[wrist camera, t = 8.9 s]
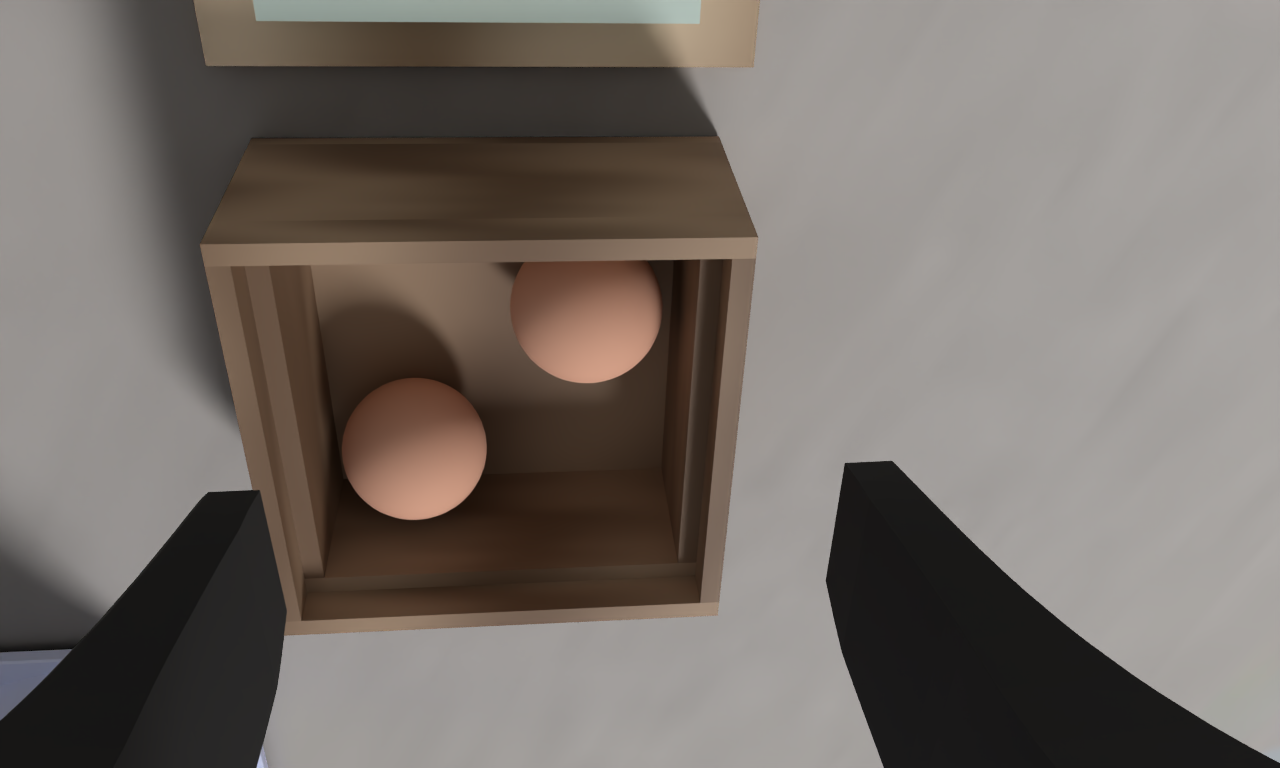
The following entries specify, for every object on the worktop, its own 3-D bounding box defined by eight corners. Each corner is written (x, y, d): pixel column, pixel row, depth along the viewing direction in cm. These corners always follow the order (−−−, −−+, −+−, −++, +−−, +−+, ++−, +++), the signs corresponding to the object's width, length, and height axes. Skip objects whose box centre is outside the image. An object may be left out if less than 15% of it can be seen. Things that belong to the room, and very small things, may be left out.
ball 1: (358, 461, 25) (342, 552, 23) (342, 351, 24) (323, 437, 21) (490, 457, 26) (488, 547, 23) (484, 348, 24) (481, 433, 22)
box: (314, 498, 26) (284, 635, 23) (251, 138, 21) (199, 244, 18) (691, 484, 27) (717, 615, 24) (718, 136, 22) (758, 237, 18)
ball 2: (512, 332, 24) (512, 415, 21) (507, 205, 22) (506, 279, 20) (651, 329, 24) (667, 411, 22) (657, 203, 22) (675, 277, 20)
